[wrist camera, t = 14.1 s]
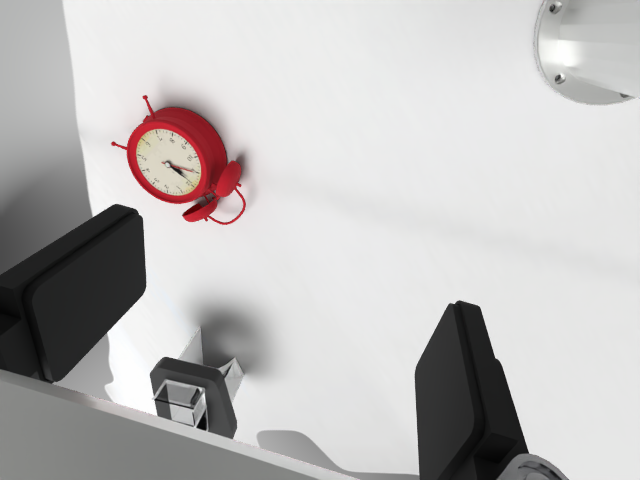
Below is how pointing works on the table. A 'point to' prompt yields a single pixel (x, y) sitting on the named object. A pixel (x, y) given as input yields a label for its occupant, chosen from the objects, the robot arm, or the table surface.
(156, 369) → the black-topped pedestal
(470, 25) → the table surface
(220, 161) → the alarm clock
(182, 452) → the robot arm
